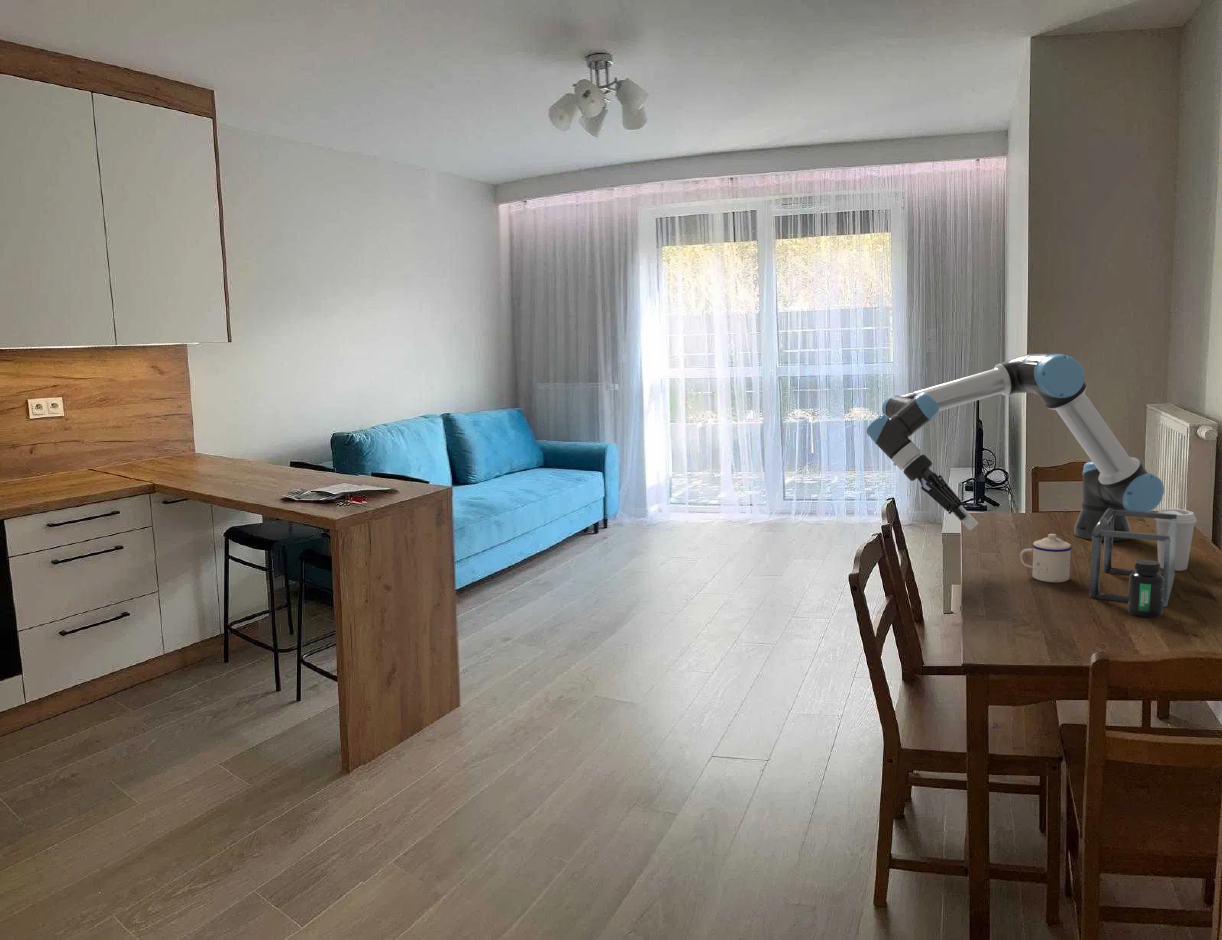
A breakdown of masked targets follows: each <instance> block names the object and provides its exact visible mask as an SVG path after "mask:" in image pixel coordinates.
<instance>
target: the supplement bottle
mask: <svg viewBox="0 0 1222 940" xmlns="http://www.w3.org/2000/svg"><path fill="white" fill-rule="evenodd" d="M1134 570H1136V571H1135V572H1133V573H1132V574H1131V575H1129V578H1128V579H1129V580H1128V595H1127V596H1128V602H1127V611H1128V613H1129V614H1130V615H1132V616H1135V617H1139V618H1144V619H1157V618H1160V617H1162V616H1163V613H1164V607H1163V601H1164V577H1163V576H1162V575H1161V574H1159V573H1161V568H1160V563H1159V562H1158V561H1156V560H1152V559H1138V560H1135V562H1134Z"/></svg>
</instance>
